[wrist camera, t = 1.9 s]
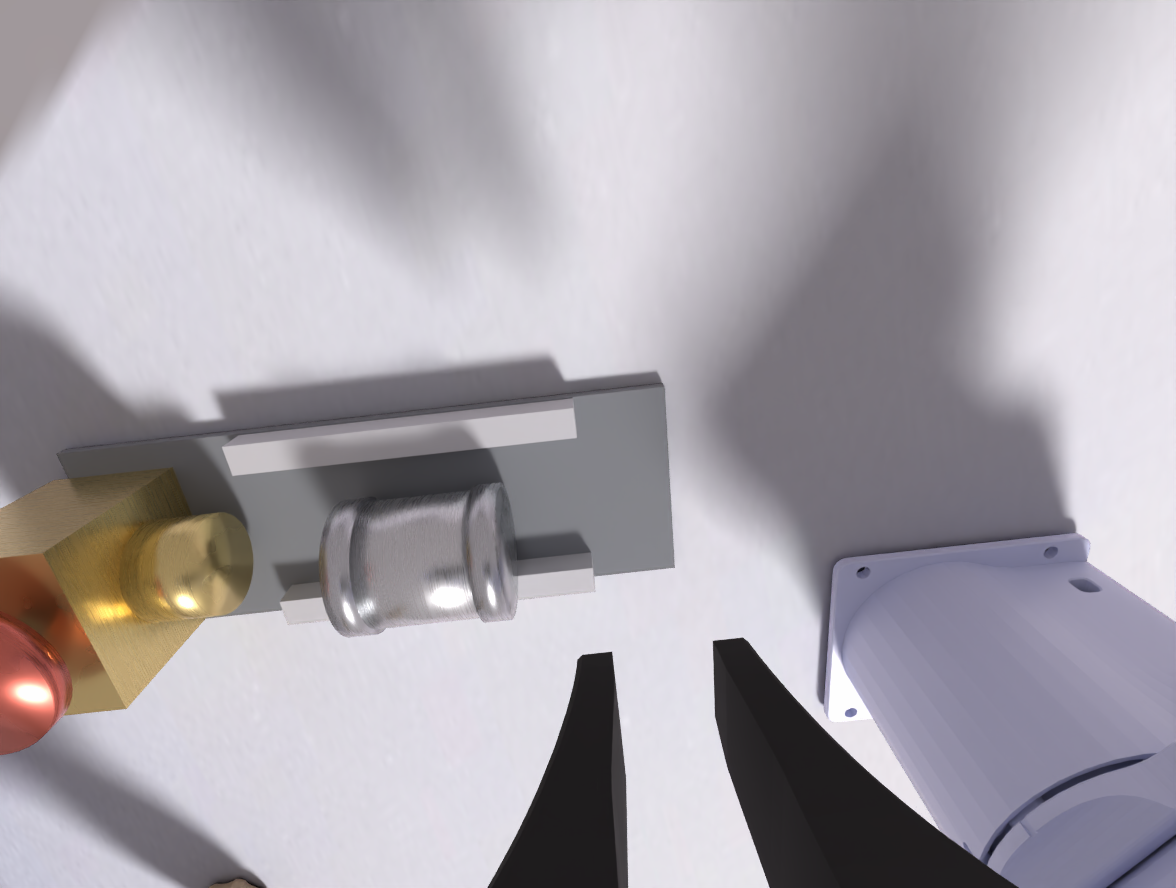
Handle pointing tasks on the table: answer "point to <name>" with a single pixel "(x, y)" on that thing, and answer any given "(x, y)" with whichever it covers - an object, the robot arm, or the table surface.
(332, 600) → the coupling
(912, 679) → the robot arm
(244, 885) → the handle
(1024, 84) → the table surface
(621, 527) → the grey railed tray
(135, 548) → the valve
